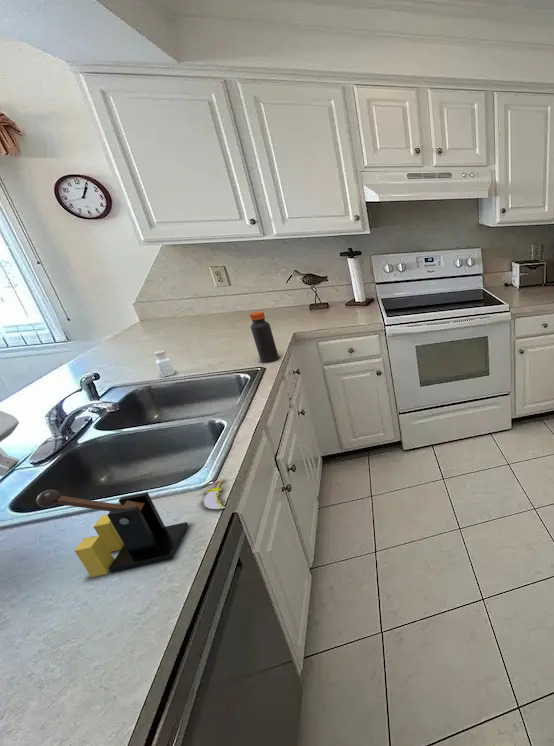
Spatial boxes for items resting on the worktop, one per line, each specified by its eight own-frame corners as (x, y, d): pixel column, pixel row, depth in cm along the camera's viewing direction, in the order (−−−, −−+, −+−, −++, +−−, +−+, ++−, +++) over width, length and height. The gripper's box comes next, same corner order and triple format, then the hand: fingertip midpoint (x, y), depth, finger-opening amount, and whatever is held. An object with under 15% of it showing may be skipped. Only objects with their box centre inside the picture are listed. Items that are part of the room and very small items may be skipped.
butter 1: (108, 552, 82) (92, 526, 79) (116, 541, 84) (101, 515, 81) (123, 549, 82) (108, 523, 79) (130, 538, 85) (116, 512, 82)
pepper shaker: (162, 377, 157) (153, 354, 153) (161, 374, 160) (152, 351, 156) (175, 374, 160) (166, 351, 156) (174, 371, 162) (164, 349, 158)
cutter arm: (30, 509, 71) (33, 495, 71) (42, 497, 74) (45, 484, 73) (135, 523, 78) (139, 511, 77) (142, 512, 80) (146, 500, 80)
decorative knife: (200, 516, 90) (226, 508, 92) (199, 514, 90) (225, 506, 92) (207, 484, 100) (231, 477, 101) (207, 483, 99) (230, 476, 101)
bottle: (257, 361, 169) (242, 315, 160) (270, 355, 175) (256, 310, 166) (269, 363, 167) (256, 316, 158) (282, 357, 173) (270, 311, 164)
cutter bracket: (110, 573, 77) (81, 526, 72) (133, 537, 85) (109, 493, 80) (172, 559, 80) (148, 513, 75) (189, 525, 88) (168, 482, 83)
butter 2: (91, 577, 77) (73, 550, 74) (100, 564, 79) (83, 538, 76) (107, 574, 77) (90, 547, 74) (115, 561, 80) (99, 534, 77)
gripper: (-167, 454, 54) (-27, 493, 61) (-40, 388, 72) (58, 425, 78) (-189, 488, 55) (-49, 524, 61) (-58, 415, 72) (40, 449, 79)
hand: (12, 468), depth 70 cm, fingers closed
